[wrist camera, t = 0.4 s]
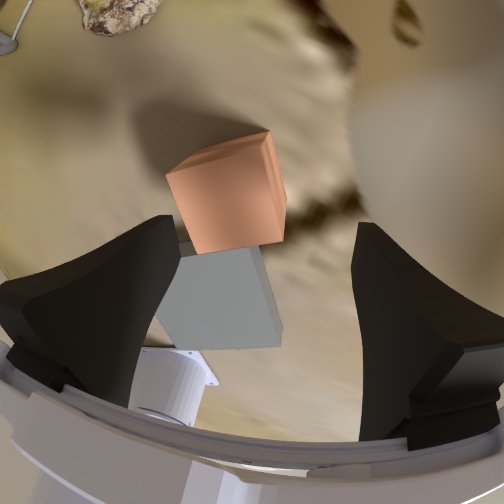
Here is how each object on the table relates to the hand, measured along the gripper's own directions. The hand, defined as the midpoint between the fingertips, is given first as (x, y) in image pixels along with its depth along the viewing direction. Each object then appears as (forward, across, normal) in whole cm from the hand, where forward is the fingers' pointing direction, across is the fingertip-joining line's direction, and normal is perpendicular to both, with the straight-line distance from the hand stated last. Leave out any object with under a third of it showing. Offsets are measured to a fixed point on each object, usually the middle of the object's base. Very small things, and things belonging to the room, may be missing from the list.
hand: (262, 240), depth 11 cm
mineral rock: (+10, +11, -16) cm, 22 cm away
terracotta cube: (+10, +3, +1) cm, 10 cm away
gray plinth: (+9, +6, +12) cm, 16 cm away
